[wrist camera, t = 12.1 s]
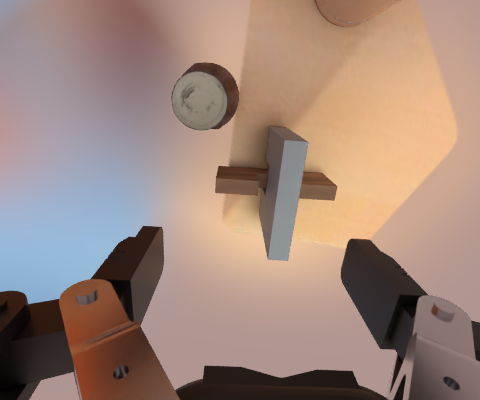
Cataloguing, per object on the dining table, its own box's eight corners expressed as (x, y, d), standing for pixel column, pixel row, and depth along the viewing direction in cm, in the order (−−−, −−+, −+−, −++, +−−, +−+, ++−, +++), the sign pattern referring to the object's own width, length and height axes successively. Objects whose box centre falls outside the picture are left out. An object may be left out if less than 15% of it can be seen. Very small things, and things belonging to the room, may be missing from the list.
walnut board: (218, 166, 41) (216, 178, 35) (322, 173, 42) (337, 186, 36) (218, 178, 42) (215, 192, 36) (320, 185, 42) (334, 200, 36)
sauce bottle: (184, 77, 37) (133, 60, 18) (228, 62, 36) (222, 26, 17) (202, 125, 39) (172, 153, 20) (243, 111, 38) (252, 126, 20)
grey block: (269, 126, 39) (284, 140, 27) (285, 127, 39) (308, 142, 27) (259, 214, 44) (267, 259, 32) (273, 215, 44) (288, 260, 32)
